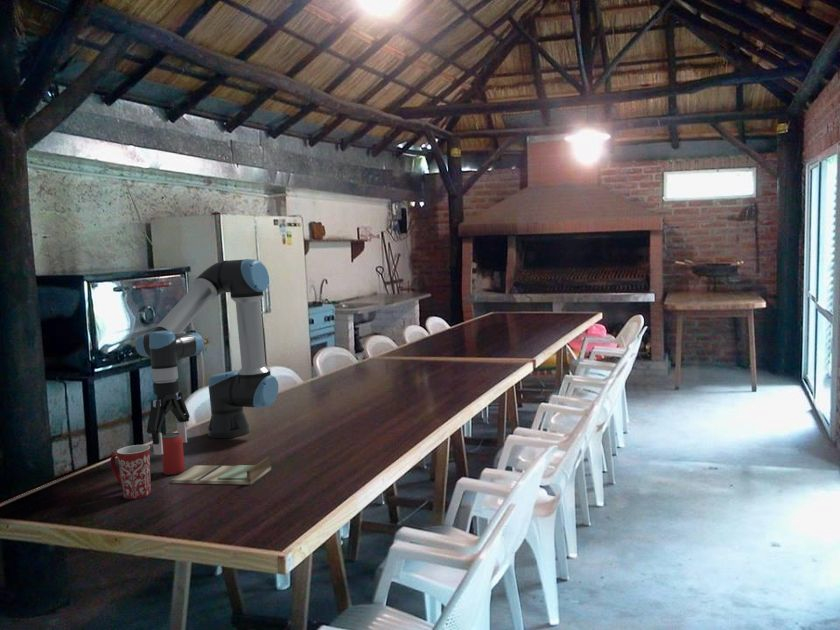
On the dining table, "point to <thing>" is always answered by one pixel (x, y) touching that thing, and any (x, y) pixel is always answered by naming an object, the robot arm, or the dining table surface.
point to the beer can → (172, 454)
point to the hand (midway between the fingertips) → (171, 448)
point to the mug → (133, 470)
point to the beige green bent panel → (224, 474)
